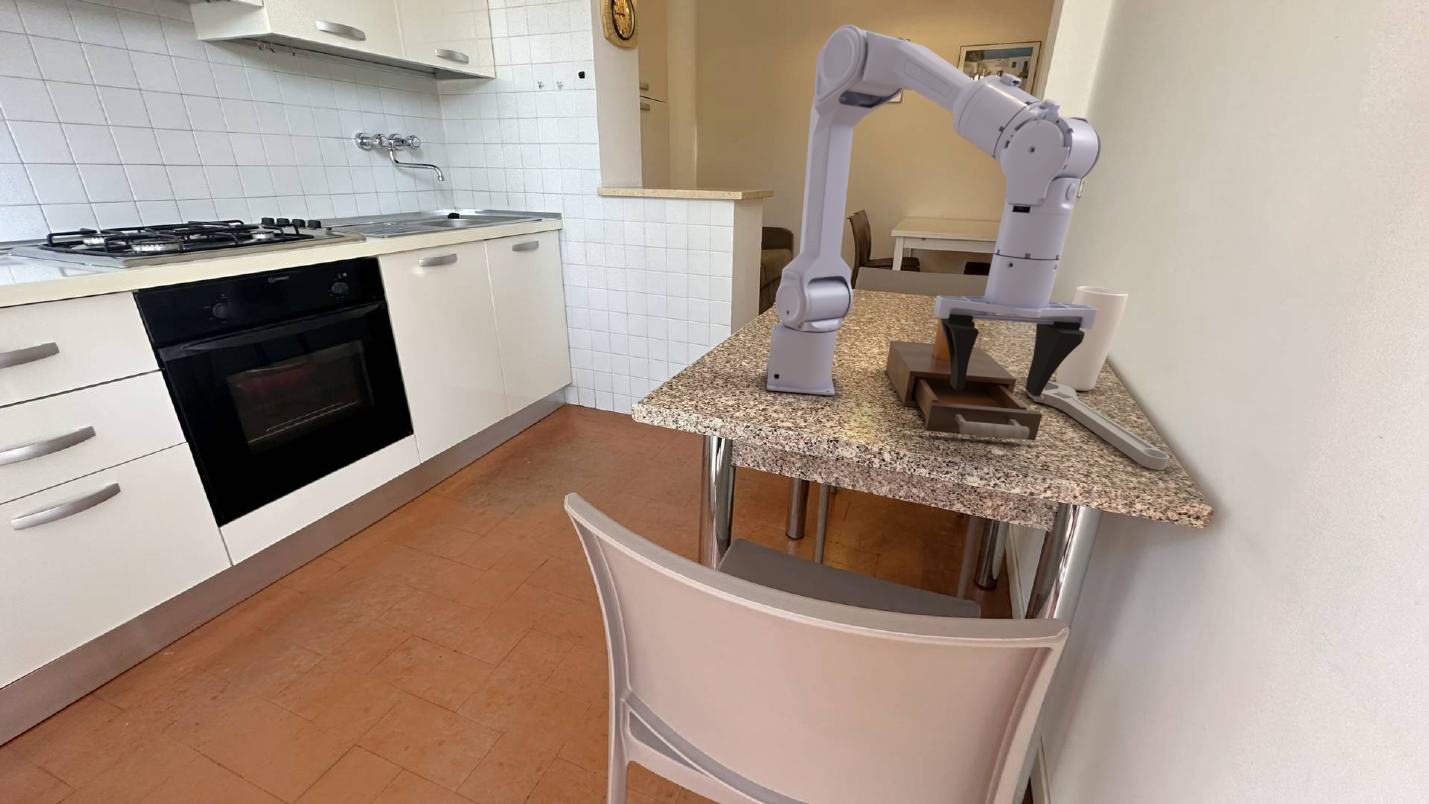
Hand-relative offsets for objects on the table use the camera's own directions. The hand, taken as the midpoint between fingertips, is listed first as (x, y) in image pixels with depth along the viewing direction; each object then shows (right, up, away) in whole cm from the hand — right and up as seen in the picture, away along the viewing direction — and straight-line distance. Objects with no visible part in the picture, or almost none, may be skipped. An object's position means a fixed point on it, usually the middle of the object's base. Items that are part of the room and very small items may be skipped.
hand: (994, 390), depth 59 cm
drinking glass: (+27, +1, +30) cm, 40 cm away
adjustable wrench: (+19, -4, +16) cm, 25 cm away
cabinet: (+4, 0, +25) cm, 25 cm away
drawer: (+3, -3, +13) cm, 13 cm away
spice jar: (+5, +5, +23) cm, 24 cm away
